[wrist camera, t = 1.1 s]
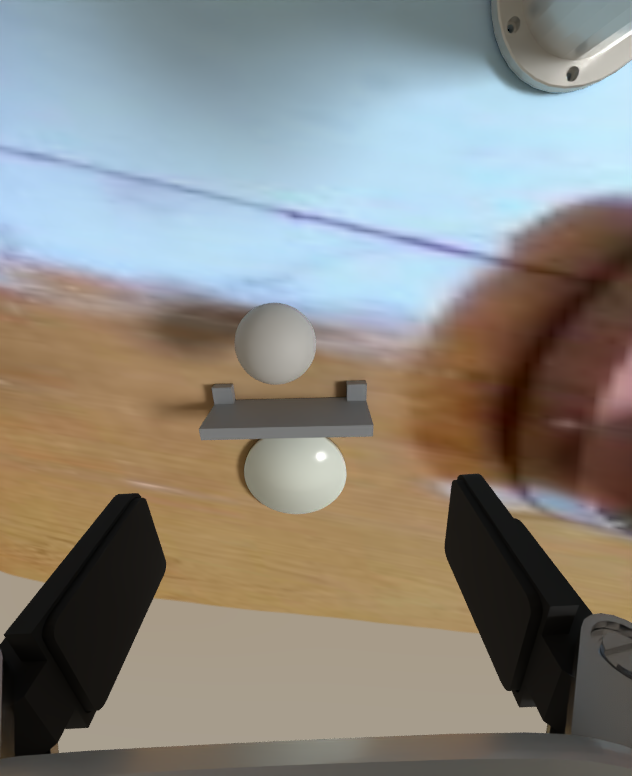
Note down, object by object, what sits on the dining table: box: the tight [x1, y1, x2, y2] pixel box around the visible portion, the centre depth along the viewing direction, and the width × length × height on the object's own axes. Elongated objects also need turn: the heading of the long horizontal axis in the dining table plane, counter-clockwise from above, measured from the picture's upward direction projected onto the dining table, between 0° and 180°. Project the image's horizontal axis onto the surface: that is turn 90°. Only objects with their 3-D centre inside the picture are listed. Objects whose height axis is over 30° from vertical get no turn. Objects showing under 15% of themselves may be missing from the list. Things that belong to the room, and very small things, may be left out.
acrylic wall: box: [199, 380, 373, 440], centre depth 33 cm, size 5×16×6 cm, turn 92°
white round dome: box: [244, 437, 346, 514], centre depth 39 cm, size 12×12×1 cm
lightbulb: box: [235, 303, 316, 384], centre depth 28 cm, size 6×6×11 cm
